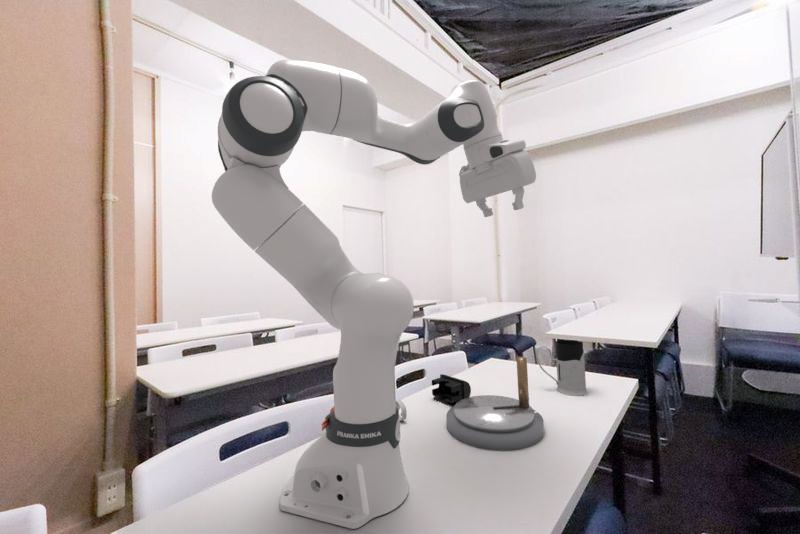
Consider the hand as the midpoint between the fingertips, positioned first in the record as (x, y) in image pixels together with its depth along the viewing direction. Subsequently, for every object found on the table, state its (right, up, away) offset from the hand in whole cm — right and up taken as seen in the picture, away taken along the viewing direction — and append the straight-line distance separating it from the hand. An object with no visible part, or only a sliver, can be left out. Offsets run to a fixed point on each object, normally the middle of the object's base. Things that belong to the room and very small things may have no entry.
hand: (503, 212), depth 81 cm
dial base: (-1, -52, +4) cm, 52 cm away
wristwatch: (-24, -54, +10) cm, 60 cm away
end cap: (-9, -53, +22) cm, 58 cm away
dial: (-1, -49, +4) cm, 50 cm away
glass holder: (+26, -52, +26) cm, 63 cm away
